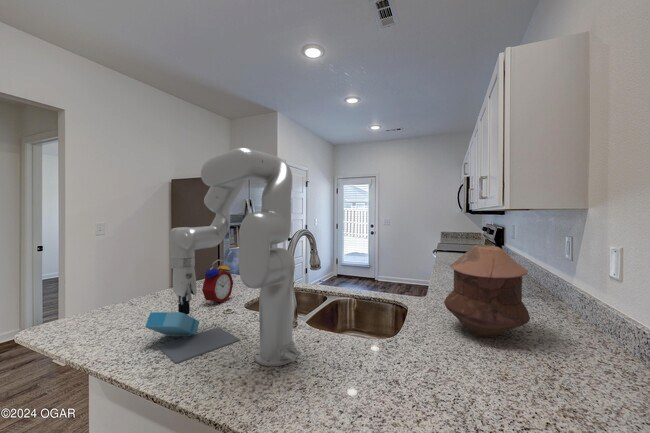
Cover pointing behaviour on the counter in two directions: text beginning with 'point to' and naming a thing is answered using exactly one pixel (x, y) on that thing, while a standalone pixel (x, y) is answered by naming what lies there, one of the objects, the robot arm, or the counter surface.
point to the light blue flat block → (172, 323)
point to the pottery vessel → (487, 291)
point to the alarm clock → (217, 284)
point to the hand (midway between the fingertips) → (184, 314)
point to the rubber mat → (197, 344)
